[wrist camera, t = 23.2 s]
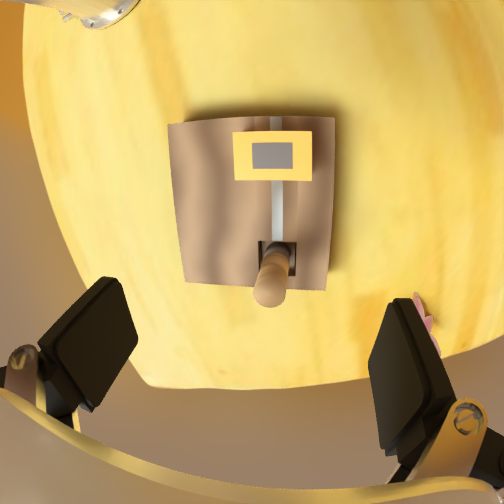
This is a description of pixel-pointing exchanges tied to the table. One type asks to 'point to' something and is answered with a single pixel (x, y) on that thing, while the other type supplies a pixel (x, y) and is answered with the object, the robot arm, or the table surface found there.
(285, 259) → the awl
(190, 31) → the table surface
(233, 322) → the table surface
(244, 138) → the block
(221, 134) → the board
